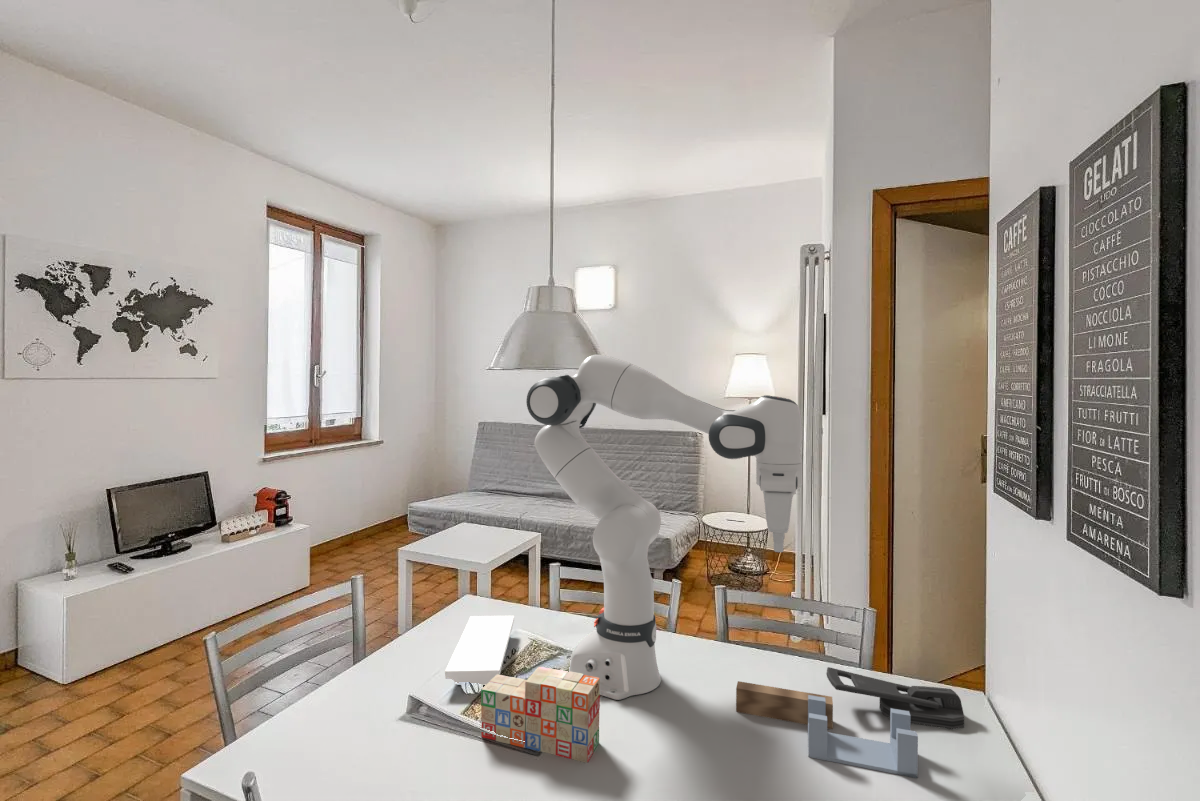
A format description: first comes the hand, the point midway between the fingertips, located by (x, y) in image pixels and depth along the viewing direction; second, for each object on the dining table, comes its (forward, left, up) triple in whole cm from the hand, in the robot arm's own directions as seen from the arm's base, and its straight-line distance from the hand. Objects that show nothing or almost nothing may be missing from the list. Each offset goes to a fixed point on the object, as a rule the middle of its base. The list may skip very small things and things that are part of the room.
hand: (779, 545), depth 116 cm
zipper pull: (+22, +7, -34) cm, 41 cm away
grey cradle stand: (+14, -10, -33) cm, 38 cm away
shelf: (-67, -1, -34) cm, 75 cm away
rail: (+1, -2, -34) cm, 34 cm away
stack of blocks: (-41, -25, -34) cm, 59 cm away
